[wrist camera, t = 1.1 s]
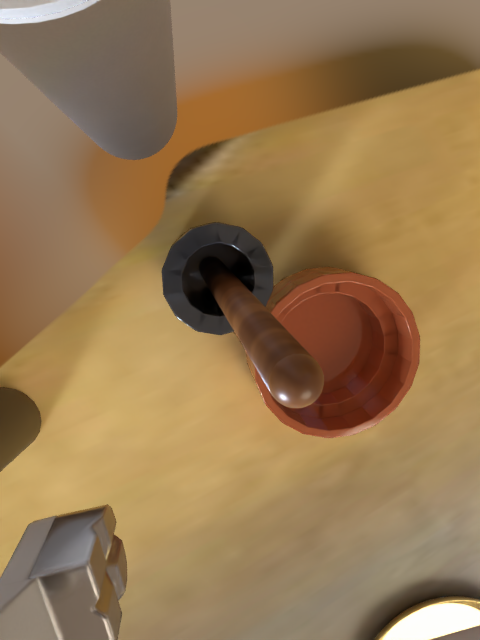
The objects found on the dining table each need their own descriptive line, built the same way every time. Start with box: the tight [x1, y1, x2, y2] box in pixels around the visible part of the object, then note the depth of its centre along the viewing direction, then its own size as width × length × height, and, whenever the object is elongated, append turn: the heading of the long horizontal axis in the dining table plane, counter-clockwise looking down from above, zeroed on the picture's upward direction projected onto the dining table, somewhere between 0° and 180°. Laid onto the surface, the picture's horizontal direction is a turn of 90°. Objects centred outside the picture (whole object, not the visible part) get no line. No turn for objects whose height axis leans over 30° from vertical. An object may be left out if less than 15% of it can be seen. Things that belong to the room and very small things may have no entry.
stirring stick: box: [199, 257, 324, 408], centre depth 24 cm, size 2×2×22 cm
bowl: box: [246, 267, 420, 438], centre depth 35 cm, size 13×13×6 cm
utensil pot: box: [162, 222, 273, 335], centre depth 31 cm, size 7×7×10 cm
